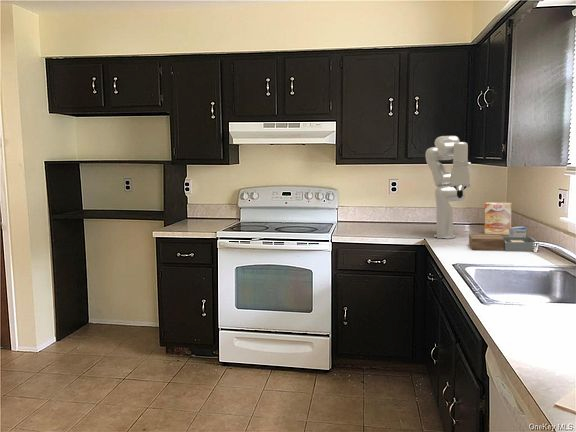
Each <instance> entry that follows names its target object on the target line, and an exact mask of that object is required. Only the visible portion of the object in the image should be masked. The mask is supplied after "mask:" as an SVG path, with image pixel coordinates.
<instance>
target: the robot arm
mask: <svg viewBox="0 0 576 432" xmlns="http://www.w3.org/2000/svg"><path fill="white" fill-rule="evenodd" d="M468 147H469V145H468V143H467V142H465V141H460V138H459V136H457V135H441V136H438V137H436V139H434V146H432V147H429V148H427V149H426V151H425V161H426V164H427V166H428V167H429V170H430V171H431V174H432V178H433V182H434V185H435V186H436V187H437V188H435V190H434V196H435V197H434V198H435V202H436V205H435V206H436V208H435V209H436V228H435V229H436V230H435V231H436V234H435V233H434V235H433V238H435V237H437V238H436V239H441V238H446V240H448V239H455V238H456V235H455V234H453V229H454V228H453V227H454V225H453V223H454V222H453V219H454V218H453V217H454V213H453V212H454V211H453V210H454V209H453V206H452V205H451V204H450V202H462V201H463V200H465V198H466V189H468V188H470V187H471V176H470V175H471V174H470V167H469V166H471V162H469V159H468V156H469V154H468V153H469V151H468V150H469V148H468ZM450 160H452V167H450V171H447V169H446V166H445V165H444V164H443V163H442V162H440V161H450Z"/></svg>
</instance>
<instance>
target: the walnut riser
mask: <svg viewBox="0 0 576 432" xmlns="http://www.w3.org/2000/svg"><path fill="white" fill-rule="evenodd" d="M503 237H504V236H502V234H485V233H484V234H481V233H479V234H475V233H473V234H472V233H469V235H468V246H469V248H470V249H471V250H472V251H502V252H504V251H505V250H504V248H505V239H504V238H503Z"/></svg>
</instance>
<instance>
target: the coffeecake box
mask: <svg viewBox="0 0 576 432" xmlns="http://www.w3.org/2000/svg"><path fill="white" fill-rule="evenodd" d="M512 204H513V203H512V202H485V204H484V234H498V235H505V236H506V235H507V236H509V227H512Z"/></svg>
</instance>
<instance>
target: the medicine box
mask: <svg viewBox="0 0 576 432" xmlns="http://www.w3.org/2000/svg"><path fill="white" fill-rule="evenodd" d="M508 237H527V227H526V226H511V227H509V235H508Z"/></svg>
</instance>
